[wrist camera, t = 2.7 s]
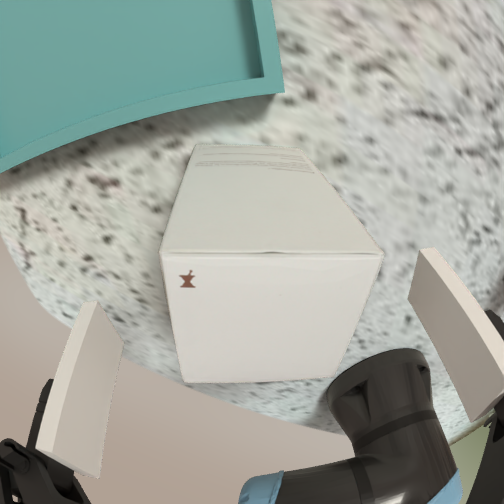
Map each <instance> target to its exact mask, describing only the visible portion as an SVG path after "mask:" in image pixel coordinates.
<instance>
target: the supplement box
mask: <svg viewBox="0 0 504 504" xmlns="http://www.w3.org/2000/svg"><path fill="white" fill-rule="evenodd" d="M158 253H159V259H160V265H161V271H162V277H163V283H164V289H165V295H166V300H167V306H168V311H169V316H170V321H171V326H172V331H173V335H174V340H175V345H176V350H177V355H178V360H179V365H180V370H181V374H182V379H183V382H185V383H251V382H274V381H290V380H303V379H316V378H327V377H333V376H334V375H335V373H336V371H337V369H338V367H339V365H340V363H341V361H342V358H343V356H344V354H345V352H346V350H347V347H348V345H349V343H350V341H351V338H352V336H353V334H354V331H355V329H356V327H357V324H358V321H359V319H360V316H361V314H362V312H363V310H364V307H365V305H366V303H367V300H368V298H369V296H370V293H371V291H372V288H373V286H374V283H375V281H376V278H377V276H378V273H379V270H380V268H381V265H382V263H383V260H384V257H385V255H384V252H383V251H382V250H381V248H380V247H379V246H378V245H377V243H376V242H375V241H374V239H373V238H372V237H371V235H370V234H369V233H368V231H367V230H366V229H365V227H364V226H363V225H362V223H361V222H360V221H359V219H358V218H357V217H356V215H355V214H354V213H353V211H352V210H351V209H350V208H349V206H348V205H347V204H346V203H345V201H344V200H343V199H342V197H341V196H340V195H339V194H338V192H337V191H336V190H335V189H334V188H333V186H332V185H331V184H330V183H329V181H328V180H327V179H326V178H325V177H324V175H323V174H322V173H321V172H320V171H319V169H318V168H317V167H316V166H315V165H314V164H313V162H312V161H311V160H310V159H309V158H308V157H307V156H306V154H305V153H304V152H303V151H302V150H301V149H299V148H289V147H276V146H257V145H215V144H196V145H195V147H194V149H193V152H192V155H191V157H190V160H189V163H188V166H187V168H186V171H185V174H184V176H183V179H182V182H181V185H180V188H179V190H178V193H177V196H176V199H175V202H174V205H173V208H172V211H171V214H170V217H169V220H168V223H167V226H166V229H165V232H164V235H163V238H162V241H161V244H160V248H159V252H158Z"/></svg>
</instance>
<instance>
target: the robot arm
mask: <svg viewBox="0 0 504 504" xmlns="http://www.w3.org/2000/svg"><path fill="white" fill-rule="evenodd" d="M408 300H409V302H410V304H411V305H412V307H413V309H414V310H415V312H416V314H417V316H418V317H419V319H420V321H421V323H422V324H423V326H424V328H425V330H426V332H427V334H428V335H429V337H430V339H431V341H432V343H433V345H434V346H435V348H436V350H437V352H438V354H439V356H440V358H441V360H442V362H443V364H444V366H445V368H446V370H447V372H448V374H449V376H450V378H451V380H452V382H453V384H454V386H455V388H456V391H457V393H458V395H459V397H460V399H461V402H462V404H463V406H464V408H465V411H466V413H467V415H468V418H469V420H470V422H471V423H472V422H474V421H476V420H477V419H479V418H481V417H483V416H485V415H486V414H487V413H488V412H489V411H490V410H491V409H492V408H493V407H494V409H495V411H496V412H495V413H494V414H493V415H492V416H490V417H489V418H488V419H487V420H486V421H485V424H484V427H486V426H487V425H488V424H489V423H491V422H492V423H491V425H490V426H489V428H490V432H489V435H488V439H487V443H486V447H485V451H484V454H483V457H482V461H481V464H480V467H479V470H478V473H477V476H476V479H475V482H474V484H473V487H472V490H471V492H470V495H469V498H468V500H467V503H466V504H504V323H503V321H502V320H501V318H500V317H499V316H497V315H496V314H495V313H494V312H492V311H491V310H488V311H486V312H484V311H483V309H482V308H481V307H480V305H479V304H478V302H477V301H476V300H475V298H474V297H473V295H472V294H471V293H470V291H469V290H468V289H467V287H466V286H465V285H464V283H463V282H462V281H461V280H460V278H459V277H458V276H457V274H456V273H455V272H454V271H453V269H452V268H451V267H450V266H449V264H448V263H447V262H446V261H445V260H444V258H443V257H442V256H441V255H440V254H439V252H438V251H437V250H436V249H435V248H434V247H431V248H426V249H421V250H419V254H418V258H417V263H416V267H415V271H414V276H413V280H412V284H411V288H410V292H409V295H408ZM123 347H124V342H123V340H122V339H121V337H120V336H119V334H118V332H117V331H116V329H115V328H114V326H113V325H112V323H111V321H110V320H109V318H108V317H107V315H106V313H105V312H104V310H103V308H102V307H101V305H100V303H99V302H98V301H90V302H83V304H82V307H81V309H80V312H79V314H78V316H77V319H76V321H75V324H74V326H73V329H72V331H71V334H70V337H69V339H68V342H67V344H66V347H65V350H64V352H63V355H62V358H61V361H60V364H59V367H58V370H57V373H56V375H55V378H54V379H49V380H48V382H47V383H46V385H45V386H44V388H43V389H42V392H41V395H40V398H39V403H38V405H37V408H36V413H35V415H34V419H33V422H32V426H31V430H30V434H29V438H28V442H27V445H26V448H25V447H23V446H22V445H20V444H19V443H17V442H16V441H14V440H13V439H9V438H7V439H4V440H2V441H1V443H0V504H91V503H90V501H89V499H88V497H87V496H86V494H85V492H84V490H83V489H82V487H81V485H80V483H79V482H78V480H77V479H76V478H75V476H73V475H74V471H75V472H77V473H80V474H81V475H83V476H88V477H93V478H98V479H99V478H100V471H101V463H102V456H103V448H104V442H105V436H106V429H107V423H108V418H109V412H110V406H111V402H112V396H113V391H114V387H115V382H116V377H117V372H118V368H119V363H120V359H121V355H122V351H123ZM327 400H328V404H329V408H330V411H331V413H332V415H333V416H334V417H335V419H336V420H337V422H338V423H339V425H340V426H341V428H342V429H343V430H344V432H345V433H346V435H347V436H348V437H349V439H350V440H351V442H352V446H353V449H354V453H355V457H354V458H350V459H346V460H342V461H338V462H334V463H329V464H325V465H320V466H315V467H310V468H305V469H299V470H293V471H287V472H284V471H279V472H278V473H273V474H267V475H261V476H256V477H253V478H250V479H249V480H248V481H247V482H246V483H245V484H244V485H243V488H242V490H241V493H240V497H239V502H238V504H458V503H459V501H460V500H461V498H462V493H463V490H462V485H461V481H460V476H459V469H458V468H457V467H456V464H455V461H454V458H453V456H452V453H451V450H450V448H449V445H448V442H447V440H446V437H445V435H444V432H443V430H442V427H441V425H440V422H439V420H438V418H437V415H436V413H435V410H434V408H433V400H432V387H431V376H430V368H429V365H428V363H427V361H426V359H425V357H424V355H423V354H422V353H421V352H420V351H418V350H416V349H409V348H405V349H396V350H392V351H388V352H384V353H381V354H378V355H376V356H373V357H371V358H368V359H366V360H364V361H362V362H360V363H358V364H357V365H355V366H353V367H351V368H350V369H348V370H347V371H346V372H344V373H343V374H342V375H340V376H339V377H338V378H337V379H336V380H335V381H334V382H333V383H332V384H331V386H330V387H329V389H328V391H327ZM12 495H14V496H16V497H18V502H14V501H13V498H12Z"/></svg>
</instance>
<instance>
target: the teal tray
mask: <svg viewBox="0 0 504 504" xmlns="http://www.w3.org/2000/svg"><path fill="white" fill-rule="evenodd" d="M284 92H285V90H284V82H283V75H282V67H281V60H280V53H279V46H278V40H277V33H276V27H275V21H274V15H273V9H272V3H271V0H0V173H2V172H4V171H6V170H8V169H10V168H12V167H14V166H16V165H18V164H20V163H22V162H25V161H27V160H29V159H31V158H33V157H36V156H38V155H40V154H43V153H45V152H47V151H50V150H52V149H55V148H57V147H60V146H62V145H65V144H67V143H70V142H73V141H75V140H78V139H81V138H83V137H86V136H89V135H92V134H95V133H98V132H101V131H104V130H107V129H110V128H113V127H116V126H119V125H123V124H126V123H129V122H133V121H136V120H140V119H144V118H147V117H151V116H155V115H159V114H163V113H167V112H171V111H175V110H180V109H184V108H189V107H193V106H198V105H203V104H208V103H214V102H219V101H225V100H231V99H237V98H244V97H250V96H258V95H266V94H274V93H284Z"/></svg>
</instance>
